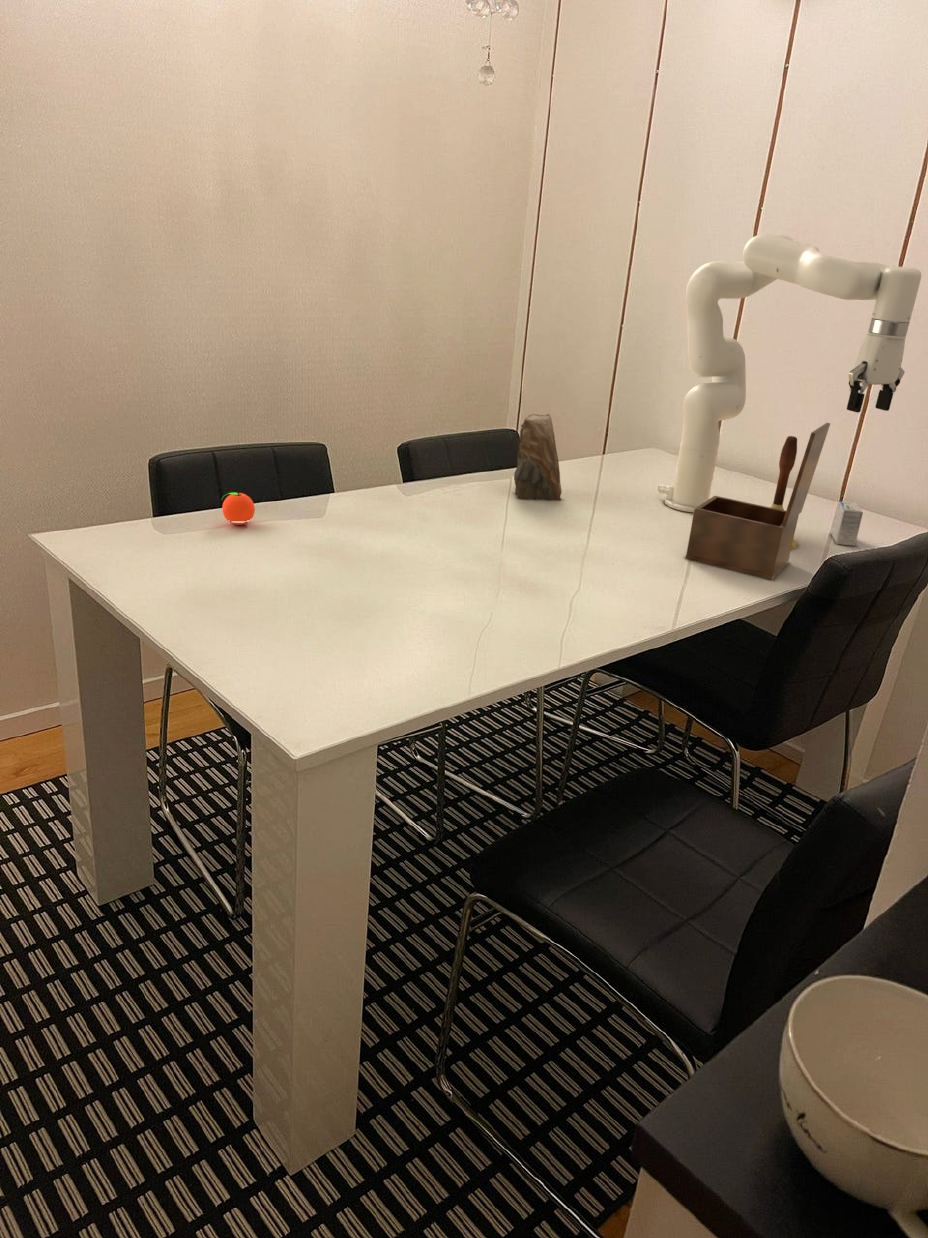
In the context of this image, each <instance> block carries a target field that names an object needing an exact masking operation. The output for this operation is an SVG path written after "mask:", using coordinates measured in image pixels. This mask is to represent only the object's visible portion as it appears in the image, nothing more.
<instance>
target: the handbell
mask: <svg viewBox="0 0 928 1238" xmlns="http://www.w3.org/2000/svg"><path fill="white" fill-rule="evenodd" d="M780 452H781V453H780V456H779V461H778V462H779V463H778V466H779V473H778V478H777V484H776V488H775V493H774V498H773V503H772V504H771V506H770V508H775V509H779V510H784V511H785V508H784V500H785V495H786V491H787V487H788V482H789V477H790V475H791V472H792V471H793V468H794V466H795V463H796V458H797V453H798V437H796V436H793V435H788V436H787V437H786V439H785V441H784V444H783V446H782V449H781V451H780ZM796 548H797V541H796V540H795V539H794V538H793V543H792V547H791V550H792V549H793V550H794V549H796Z"/></svg>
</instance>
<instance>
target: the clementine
mask: <svg viewBox="0 0 928 1238" xmlns="http://www.w3.org/2000/svg"><path fill="white" fill-rule="evenodd" d="M227 495H228V496H227ZM225 496H227V497H226V498H225V499H224V501H223V498H224V497H225ZM220 501H223V503H222V507H221V508H222V514H223V516H224V518H225V519H226V520H227V519H228V520H230V521H247V520H250V519H251V520H252V519H253V518H254V516H255V512H256V508H255V503H254V501H253V499H252V498H251V497H250V496H248V495H247V494H245V493H243V492H228V493H225V494H224V495H223V496H222V497H221V499H220ZM228 520H227V521H228ZM251 520H250V521H251ZM230 523H231V524H233V525H237V526H242V525H246V524H247V523H248V522H246V523H232V522H230Z"/></svg>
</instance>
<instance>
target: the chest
mask: <svg viewBox="0 0 928 1238" xmlns="http://www.w3.org/2000/svg"><path fill="white" fill-rule="evenodd" d="M770 507H771V506H770ZM770 507H769V506H765V505H761V504H755V503H751V502H747V501H741V500H737V499H733V498H728V497H724V496H718V495H713V496H711V497H709V500H707V501H706V502H704V503H703V504H701V505H700V506H698V507H696V508H695V509H694V512H693V515H692V521H691V527H690V533H689V537H688V543H687V549H686V555H685V559H686V560H688V561H689V560H690V561H694V562H697V563H701V564H706V565H709V566H713V567H718V568H721V569H725V570H730V571H733V572H737V573H741V574H745V575H750V576H754V577H757V578H762V579H766V580H770V581H772V580H773V579H774V578H775V577H776V576H777V575H779V573H780V572H781V571H782V570H783V569H784V568H785V567H786V566H787V565H788V563H789V561H790V556H791V552H792V549H791V547H792V543H793V539H794V538H795V533H796V530H797V526H798V525H797V524H798V520H799V516H800V514H799V515H798V516H797V517H795V518H794V519H793V520H792V521H791V522H790V523H789V524H788V525H787V526H786V527H784V526H782V523H783V520H784V517H785V514H786V510H785V509H784V510H779V509H775V508H770Z"/></svg>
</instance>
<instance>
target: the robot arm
mask: <svg viewBox="0 0 928 1238" xmlns="http://www.w3.org/2000/svg"><path fill="white" fill-rule="evenodd" d="M776 280H780V281H784V282H787V283H791V284H793V285H797V286H800V287H802V288H804V289H808V290H810V291H812V292H815V293H819V294H821V295H825V296H829V297H833V298H837V299H841V300H846V301H853V300H854V301H856V300H858V301H870V300H871V301H872V300H875V303H874V307H873V311H872V315H871V318H870V323H869V327H868V331H867V334H865V336H864V338H863V340H862V343H861V345H860V348H859V350H858V353H857V356H856V359H855V362H854V366H853V368H852V369H851V370H850V371H848V386H849V392H850V393H849V397H848V401H847V405H846V410H847V411H849V412H850V411H851V412H853V413H861V411H862V407H863V405H864V404H863V403H864V400H865V393H864V392H865V391H866V389H867V388H868V387H869V385H871V386H873V385H876V386H877V385H880V387H881V389H879V391H878V395H877V398H876V403H875V405H874V406H875V407H874V408H875V409H877V410H880V411H884V412H885V411H886V412H888V411H890V410H891V409H890V408H891V405H892V401H893V397H894V393H896V392H897V388H898V386H899V385H900V384H901V380H902V378H903V377H904V375H905V370H904V369H903V368H902V363H903V357H904V352H905V345H906V337H907V334H908V331H909V327H910V322H911V318H912V315H913V311H914V307H915V303H916V300H917V296H918V292H919V288H920V284H921V281H922V271H920V269H918V268H915V267H908V266H907V267H906V266H895V265H894V266H890V265H886V264H882V263H878V262H868V261H853V260H848V259H843V258H839V257H835V256H832V255H828V254H825V253H822V252H820V250H819V248H818V247H817V246H816V245H813V244H809V243H805V242H800V241H797V240H794V239H793V238H791V237H790V236H787V235H783V234H773V233H772V234H771V233H770V234H769V233H761V234H758V235H755V236H753V237H751V238H750V239H748V241H747V242H746V244H745V245H744V248H743V251H742V260H741V261H736V260H735V261H732V260H715V261H709V262H707V263H705V264H702V265H701V266H700V267H698V268H697V269H696V270H695V271H694V272H693V273H692V274H691V276H690V278H689V280H688V282H687V285H686V289H685V299H684V300H685V310H686V318H687V321H686V322H687V361H688V368H689V371H690V372H691V373H692V375H694V376H695V377H697V378H711V382H706V383H705V382H704V383H700V384H697V385H695V386H693V387H692V388H690V390H689V391H688V392H686V395H685V396H684V399H683V403H682V419H683V420H682V430H681V431H682V432H681V437H680V445H679V451H678V457H677V463H676V468H675V475H674V480H673V484H671V485H667V484H663V483H658V486H657V491H658V493H660V494H665V495H667V496H666V497H665V498H664V504H665V505H666V506H667V507H669V508H670V509H675V510H677V511H681V512H688V513H694V509H695V508H696V507H698V506H700V505H701V504H703V503H704V502H706V501H707V500H709V499H710V498H711V497H710V495H711V491H712V485H713V480H714V474H715V469H716V465H717V460H718V459H717V458H718V453H719V447H720V440H721V438H720V437H721V434H720V426H719V422H720V421H724V420H725V421H726V420H730V419H733V418H736V417H738V416H739V415H740V414H741V413H742V411H743V410H744V407H745V404H746V398H747V390H746V389H747V383H746V382H747V381H746V379H747V378H746V373H747V372H746V354H745V351H744V348H743V346H742V345H741V343H740V342H739V341H738V340H737V339H735V338H733V337H729V336H724V317H723V313H722V310H721V307H720V305H719V300H720V299H721V300H722V299H728V300H731V299H733V300H734V299H735V300H736V299H737V300H738V299H739V300H740V299H744V298H748V297H750V296H752V295H754V294H756V293H758V292H760V291H761V290H762V289H764V288H765V287H767V286H769V285H770V284H772V283H773V282H775V281H776Z"/></svg>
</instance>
